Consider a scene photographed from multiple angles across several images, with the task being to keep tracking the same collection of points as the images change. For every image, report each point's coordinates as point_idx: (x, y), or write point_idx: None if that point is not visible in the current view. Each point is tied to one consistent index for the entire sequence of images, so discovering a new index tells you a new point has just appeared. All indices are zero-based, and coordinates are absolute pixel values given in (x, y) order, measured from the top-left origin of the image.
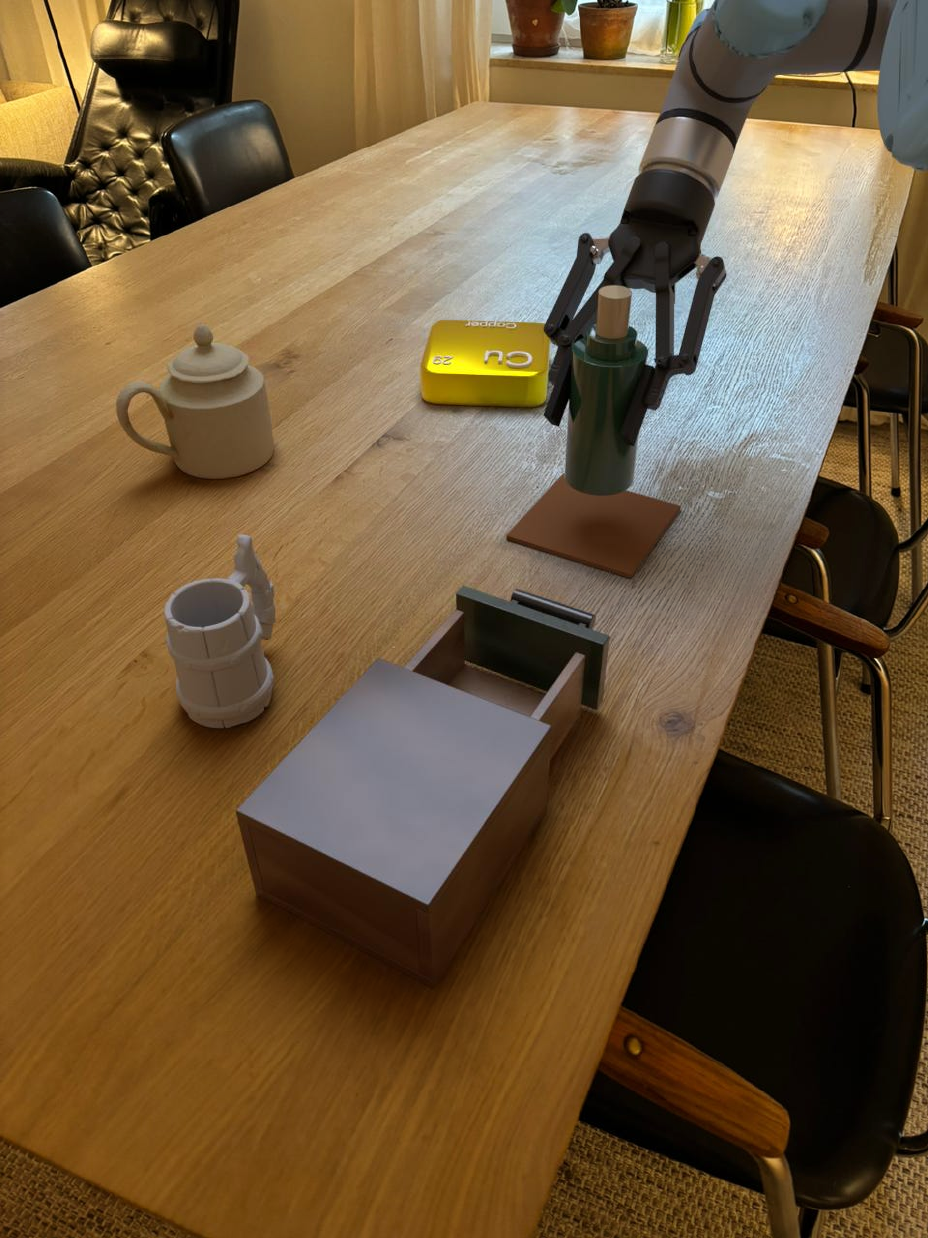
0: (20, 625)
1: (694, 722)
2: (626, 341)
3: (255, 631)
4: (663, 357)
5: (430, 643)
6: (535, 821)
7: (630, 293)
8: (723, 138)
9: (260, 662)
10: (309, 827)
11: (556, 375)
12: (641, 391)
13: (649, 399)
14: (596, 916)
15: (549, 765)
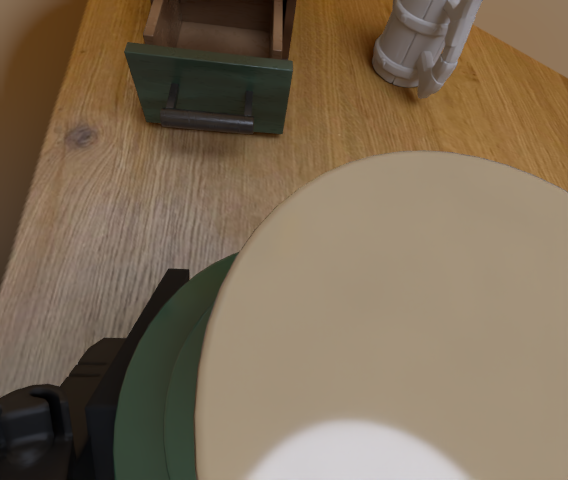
0: (559, 77)
1: (64, 142)
2: (202, 320)
3: (405, 9)
4: (6, 413)
5: (278, 18)
6: None
7: (219, 434)
8: None
9: (390, 34)
10: None
11: None
12: (138, 333)
13: (115, 345)
14: (111, 11)
15: (151, 4)
